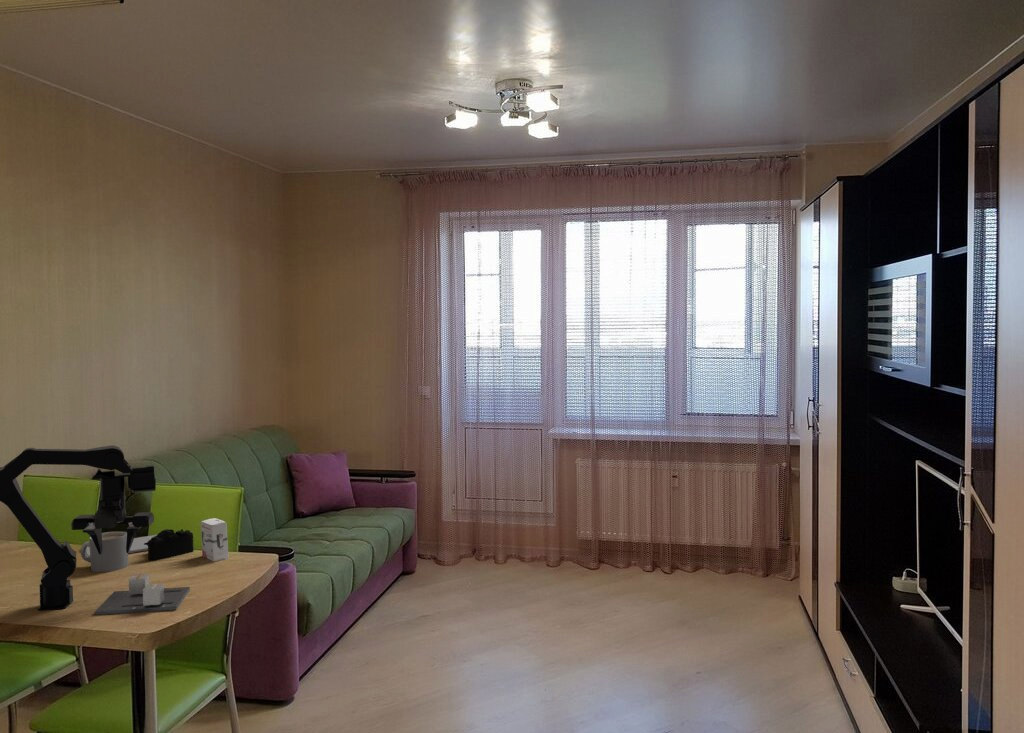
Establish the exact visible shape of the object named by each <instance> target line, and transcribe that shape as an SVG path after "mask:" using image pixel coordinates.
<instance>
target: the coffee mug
mask: <svg viewBox="0 0 1024 733" xmlns="http://www.w3.org/2000/svg"><path fill="white" fill-rule="evenodd" d="M126 542H127V531H107V532H102V554H99V553H98V551H97V548H96V546H95V544H94V542H93V540H92V538H91V536H89V541H85V542H84V543H82V545H81V546H80V556H81V558H82V559H83V560H84V561H85V562H87V563H90V570H91V571H92V572H95V573H107V572H110V573H111V572H116V571H120V570H124V569H126V568H127V567H129V554H128V553H126ZM87 547H89V548H90V557H89V556H88V555H87V552H86V548H87Z"/></svg>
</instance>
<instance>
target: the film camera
mask: <svg viewBox="0 0 1024 733" xmlns="http://www.w3.org/2000/svg"><path fill="white" fill-rule="evenodd" d="M156 535H157V536H154V537H152V538H151V539H150V540H149V541H148V542H147V543H144V545H147V546H148V551H147V557H148V558H147V559H148V561H150V562H152V561H153V562H154V561H155V562H156V561H159V560H165V559H169V558H174V557H177V556H182V555H185V554H189V553H193V552H194V533H193V532H191V531H190V530H189V529H186V530H183V529H180V530H177V531H175V530H174V529H172V528H171V529H168V528H167V529H163V530H161V531H160V532H158V533H157V534H156Z"/></svg>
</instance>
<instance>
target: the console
mask: <svg viewBox="0 0 1024 733" xmlns="http://www.w3.org/2000/svg"><path fill="white" fill-rule="evenodd" d="M190 589H191V587H190V586H183V587H169V588H168V587H166V588H165V587H164V600H163V601H162V603H161V604H160V605H145V606H143V594H130V595H129V590H116V591H113V592H112V593H111V595H110V596H109V597H108V598H106V599H105V601H104V602H103V603H101V605H100V606H98V608H96V609H95V610H94V616H103V615H117V614H118V615H120V614H135V613H138V614H139V613H140V614H141V613H152V612H153V613H154V612H155V613H157V612H171V611H177V610H178V608H179V607H180V605H182V602H183V601H184V599H185V598H186V597H187V595H188V594H189V593H190V591H191V590H190Z"/></svg>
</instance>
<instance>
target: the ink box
mask: <svg viewBox="0 0 1024 733" xmlns="http://www.w3.org/2000/svg"><path fill="white" fill-rule="evenodd" d="M227 525H228V524H227V522H226V521H224V520H222V519H219V518H217V517H213V518H208V519H204V520H201V521H200V533H201V535H200V536H201V550H202V551H201V552H202V558H205V559H208V560H210V561H212V562H220V561H224V560H228V559H229V543H228V526H227Z"/></svg>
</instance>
